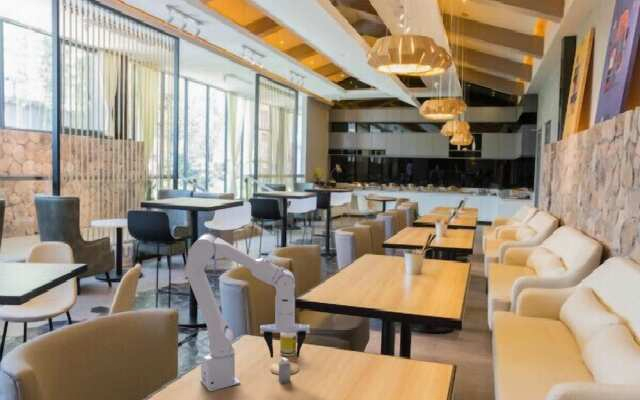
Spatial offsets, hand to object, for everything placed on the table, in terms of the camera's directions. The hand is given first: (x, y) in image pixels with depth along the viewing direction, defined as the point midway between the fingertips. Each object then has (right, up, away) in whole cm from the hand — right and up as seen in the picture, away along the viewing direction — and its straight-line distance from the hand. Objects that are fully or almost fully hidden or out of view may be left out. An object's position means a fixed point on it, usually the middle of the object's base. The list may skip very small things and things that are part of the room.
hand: (284, 356), depth 149 cm
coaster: (-1, -7, +9) cm, 11 cm away
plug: (0, -8, +1) cm, 8 cm away
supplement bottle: (0, -6, +21) cm, 22 cm away
